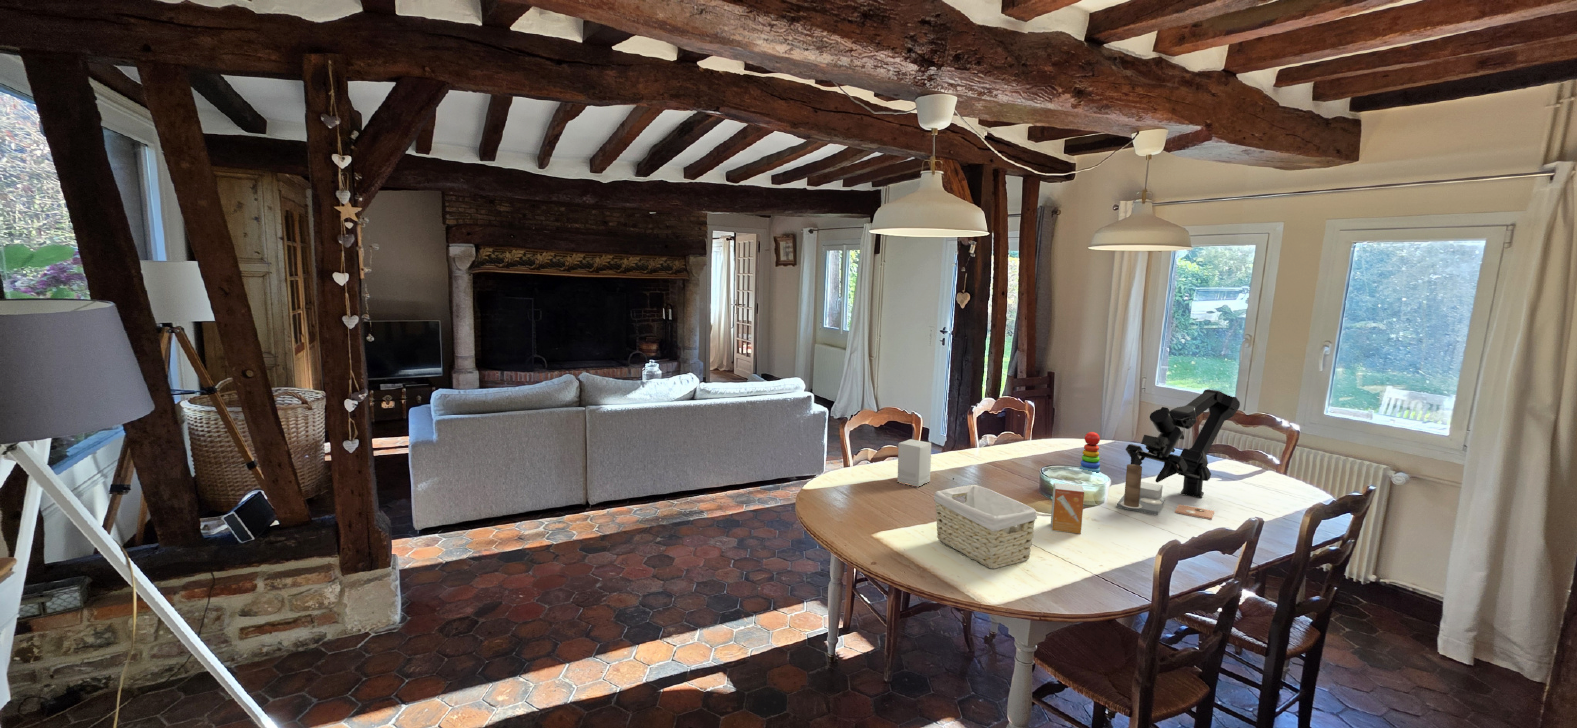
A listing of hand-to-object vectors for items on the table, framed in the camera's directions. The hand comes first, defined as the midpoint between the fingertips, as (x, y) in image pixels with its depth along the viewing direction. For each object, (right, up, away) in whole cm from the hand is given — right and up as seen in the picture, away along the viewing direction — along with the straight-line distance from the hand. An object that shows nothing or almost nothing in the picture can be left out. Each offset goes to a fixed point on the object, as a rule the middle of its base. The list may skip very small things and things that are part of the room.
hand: (1142, 477), depth 218 cm
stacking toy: (-6, -6, +27) cm, 28 cm away
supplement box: (-71, -6, +24) cm, 75 cm away
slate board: (0, -10, +2) cm, 10 cm away
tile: (+15, -11, -4) cm, 18 cm away
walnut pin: (-4, -9, -1) cm, 10 cm away
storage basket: (-63, -14, -36) cm, 74 cm away
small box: (-33, -12, -19) cm, 40 cm away
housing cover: (+7, -9, +11) cm, 16 cm away
